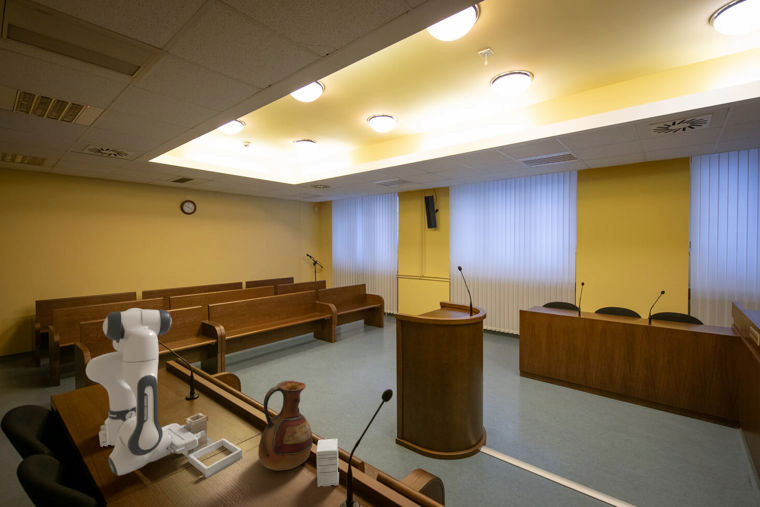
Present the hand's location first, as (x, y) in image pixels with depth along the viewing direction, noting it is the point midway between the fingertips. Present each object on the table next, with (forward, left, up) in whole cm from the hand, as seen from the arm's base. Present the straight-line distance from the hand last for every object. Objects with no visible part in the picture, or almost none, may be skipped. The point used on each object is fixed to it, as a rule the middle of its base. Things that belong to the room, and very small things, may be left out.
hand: (198, 428), depth 142 cm
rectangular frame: (+15, -1, -8) cm, 17 cm away
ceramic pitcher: (+38, +15, -8) cm, 42 cm away
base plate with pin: (0, -1, -8) cm, 8 cm away
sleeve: (0, -1, -7) cm, 7 cm away
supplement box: (+59, +17, -8) cm, 62 cm away
